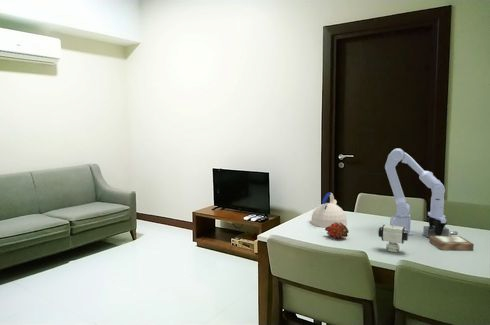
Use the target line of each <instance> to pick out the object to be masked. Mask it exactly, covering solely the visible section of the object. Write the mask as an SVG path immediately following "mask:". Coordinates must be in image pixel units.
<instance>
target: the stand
mask: <svg viewBox="0 0 490 325" xmlns="http://www.w3.org/2000/svg"><path fill="white" fill-rule="evenodd" d="M428 242H429V243H430V244H432V245H433V246H435V247H436V248H437V249H439V250H441V251H474V245H475V243H473V242H472V241H470V240H468V239H466V238H464V237H462V236H459V235H450V236H430V238H429V241H428Z"/></svg>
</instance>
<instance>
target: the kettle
mask: <svg viewBox="0 0 490 325" xmlns="http://www.w3.org/2000/svg"><path fill="white" fill-rule="evenodd" d="M328 198H329V202H327V200H328ZM337 203H338V201H337V199H335V196H334V194H333V193H332V192H327V193H326V194H325V195H324V197H323V199H322V200H321V204H320V205H318V206H316V208H315V209H313V210H314V211H312V214H311V221H310V223H311V224H312V225H313V226H315V227H318V228H326V227H328V226H331V225H332V224H334V222H337V223H338V224H340V223H342V224H343V225H344V226H346V227H347V225H348V223H347V222H348V220H347V215H346V213H345V211H344V210H343V208H342V207H340V206H339V205H338V204H337Z"/></svg>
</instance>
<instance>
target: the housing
mask: <svg viewBox="0 0 490 325" xmlns="http://www.w3.org/2000/svg"><path fill="white" fill-rule="evenodd" d="M422 231H423V232H422V234H423V236H425V237H426V238H430V236H449V231H450V228H448V227H446V226H445V227H444V228H443V231H442V234H441V235H436V231H435V225H433V226H429V225H428V226H427V225H423V230H422Z"/></svg>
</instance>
